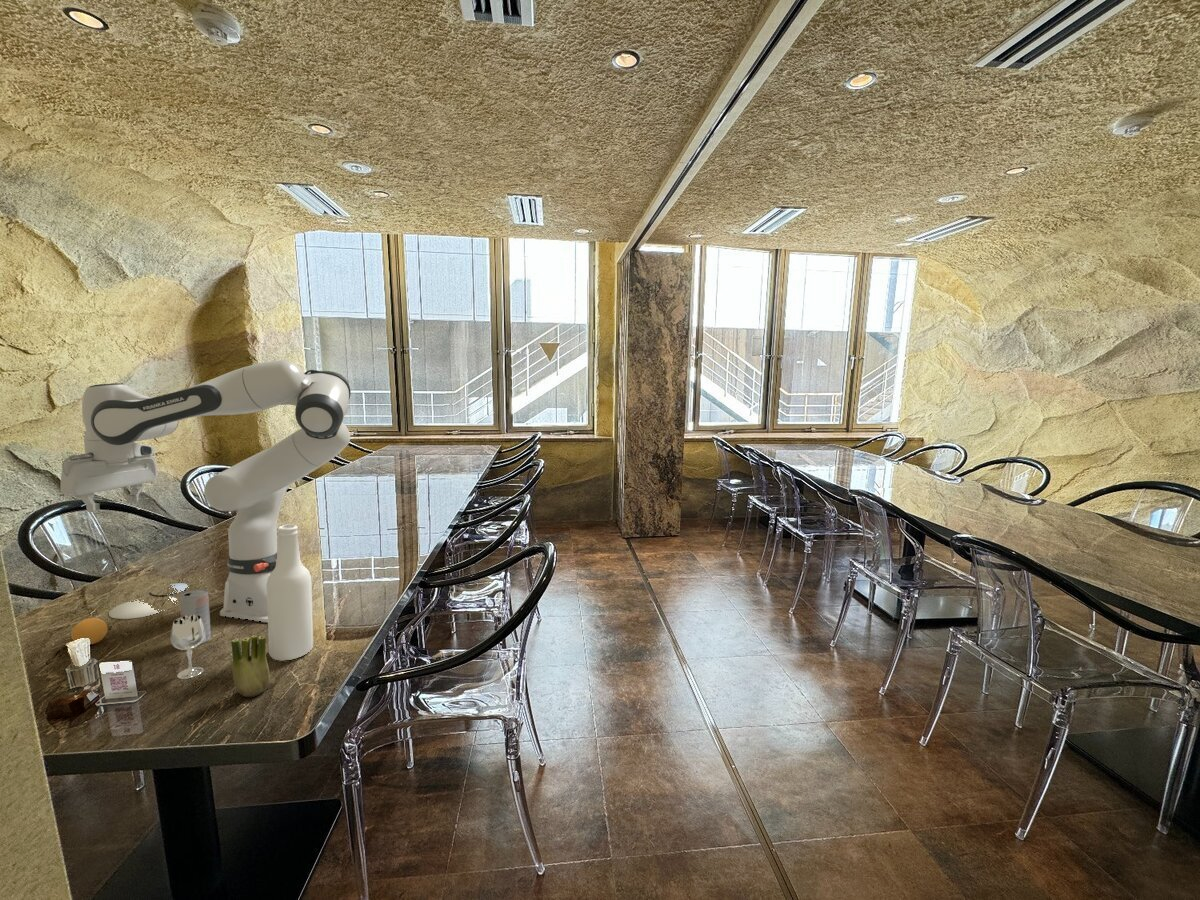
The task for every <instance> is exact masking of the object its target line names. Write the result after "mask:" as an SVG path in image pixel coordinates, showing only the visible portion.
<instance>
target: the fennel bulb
mask: <svg viewBox="0 0 1200 900" xmlns="http://www.w3.org/2000/svg"><path fill="white" fill-rule="evenodd" d="M266 642H267V637H266V636H264V635H260V636H258V635H255V634H253V635H252V634H251V641H250V637H249V636H248V637H244V638H242V639H241V644H240V639H239V638H234V639H232V640H231V643H230V644H231V650H232V666H231V667H232V670H231V673H232V674H231V675H232V679H233V684H234V686H235V688H236V690H237V692H238V693H239V694H240V695H241V696H243V697H244V698H252V697H256V696H259V695H260V694H262V692H264V691H265V690H267V688H268V686H269V685H270V682H271V681H270V680H271V678H270V677H271V676H270V674H271V673H270V668H269V664H268V660H267V656H266V655H267V654H266V652H267V651H266V646H267V645H266V644H267V643H266ZM250 643H251V644H250ZM250 646H251V647H250ZM250 649H251V651H250Z"/></svg>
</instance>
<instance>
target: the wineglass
mask: <svg viewBox="0 0 1200 900" xmlns="http://www.w3.org/2000/svg"><path fill="white" fill-rule="evenodd" d="M204 638H205V626H204V623H203V620H202V618H201V616H200V615H187V616H183V617H181V616H180V617H177V618H176V619H174V620H173V622H172V625H171V630H170V642H171V645H172V646H173V648H175V649H177V650H181V651H185V650H186V652H185V653H186V657H187V659H188V668H186V669H183V670H181V671H180V672H179V673H178V674H177V675H176V677H177V678H178V679H181V680H186V679H192V678H195V677H197V676H199V675H201V674H202V673H203V672H204V670H205V669H204V668H203V667H200V666H193V665H192V655H193V650H192V649H194V648H196V647H198V646H200V645H202V644H201V643H202V641H203V640H204ZM199 644H200V645H199Z"/></svg>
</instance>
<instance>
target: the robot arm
mask: <svg viewBox="0 0 1200 900" xmlns="http://www.w3.org/2000/svg"><path fill="white" fill-rule="evenodd" d="M351 394H352V393H351V387H350V384H349V381H348V380H347V379H346V378H345V377H344V376H343V375H342V374H340V373H338V372H335V371H330V370H316V369H309V370H307V371H305V372H303V370H302V369H301V367H299V365H298V364H297V363H295V362H293V361H290V360H286V359H283V360H281V359H280V360H273V361H264V362H259V363H255V364H251V365H247V366H244V367H240V368H237V369H235V370H231V371H229V372H226V373H224V374H221V375H219V376H217V377H214V378H211V379H209V380H206V381H204V382H202V383H201V382H200V383H198V384H196V385H194V386H191V387H188V388H185V389H180V390H177V391H174V392H169V393H166V394H162V395H158V396H154V397H151V396H149V395H145V394H142V393H140V392H138V391H136V390H135V389H133V388H132V387H130V385H127V384H125V383H122V382H121V383H117V382H115V383H114V382H112V383H99V384H94V385H93V384H92V385H90V386H88V387H86V388H85V390H84V392H83V396H82V403H81V411H82V412H81V413H82V422H83V424H84V426H85V433H84V436H83V440H84V441H83V444H84V445H83V446H84V453H81V454H70V455H68V457H67V458H65V459H64V460H63V461H62V462H61V473H60V474H61V475H60V493H62V494H63V495H64V496H69V497H79V499H80V500H81V501H82V502H83V503H84V504H85V506H86V507H85V508H86V511H87V512H89V513H93V512H98V511H100V508H101V507H100V506H101V505H100V503H99V502H98V503H97V502H95V501H94V498H95V493H100V492H101V493H102V492H106V491H111V490H116V489H121V488H128V487H129V489H131V490H130V494H129V495H126V503H127V504H128V503H129V504H135V503H138V502H139V499H140V498H139V496H140V494H141V492H142V490H143V488H144V487H143V486H144V485H143V484H149V483H154V482H155V481H156V479H157V478H158V466H157V465H158V464H157V460H156V457H155V456H154V455H155V453H156V447H154V446H153V445H149V444H148V445H147V444H143V443H139V442H140V441H146V440H152V439H158V438H162V437H165V436H169V435H171V434H172V433H174V432H175V431H176V429H177V428H178V425H179V422H180V421H182V420H185V419H190V418H197V417H204V416H230V415H231V416H232V415H234V416H235V415H245V414H252V413H253V414H254V413H258V412H262V411H265V410H269V409H273V408H274V407H275V408H276V407H277V406H283V405H290V406H295V409H294V413H295V420H296V423H297V424H298V426H299V427H300V428H299V429H297V430H296V431H294V432H293V433H291V434H290V435H288V436H285V438H283V439H281V440H279V441H278V442H277V443H275V444H273V445H272V446H269V447H268V448H266V449H264V450H262V451H261V450H260V451H259V452H256V453H255V454H254V455H251V456H250V457H247V458H246V459H243V460H241V461H239V462H238V463H236V464H234V465H232V466H231V467H228V468H226V469H225V470H222V471H220V472H219V473H217V474H215V475H213V476H212V477H210V478H209V479H208V480H207V481H206V483H205V485H204V489H203V490H204V491H203V492H204V498H205V500H206V502H207V504H209V506H211V508H213V509H215V510H217V511H221V512H234V511H237V512H236V515H235V517H234V519H233V520H232V522H231V523H230V525H229V527H228V529H227V530H228V531H227V534H228V535H227V537H228V551H229V552H228V555H227V561H226V565H227V570H228V572H229V573H228V576H227V579H226V581H225V583H224V591H223V592H224V593H223V594H224V595H223V596H224V597H223V608H221V610H220V611H219V616H220V617H225V616H226V617H227V618H232V617H234V618H233V619H238V618H240V620H245V619H248V620H247V621H252V620H254V621H253V622H259V621H261V623H268V612H267V587H266V584H267V580H268V576H269V575H270V573H271V572H272V571H273V570H274V569H275V567H276V564H277V546H278V535H277V533H278V530H277V528H278V520H279V514H280V510H281V506H282V503H283V500H284V496H285V495H286V492H287V490H288V489H289V488H290V486H291V485H292V484H293V483H296V482H298V481H300V480H301V479H303V478H305V477H306V476H307V475H309V474H312V473H313V472H314V471H316V470H317V469H319V468H321V467H322V466H324V465H325V464H327V463H328V462H330V461H331V460H333V459H334V458H335V457H336V456H338V455H339V454H340V453H341V452H343V450H344V449H345V448H346V447H348V446H349V443H350V442H351V441H350V440H351V433H350V430H349V429H348V427H347V425H346V424H345V423H344V422H343V420H344V418H345V416H346V413H347V410H348V408H349V401H350V398H351ZM137 442H138V443H137Z"/></svg>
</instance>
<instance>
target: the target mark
mask: <svg viewBox="0 0 1200 900" xmlns="http://www.w3.org/2000/svg"><path fill="white" fill-rule="evenodd" d="M168 596H169V598H170V599H171V601H172V602H173V600H174V601H176V600H178V598H176V597H174V596H171V595H168ZM171 597H172V598H171ZM138 599H139V598H137V599H133V600H134V602H131V601H132V600H130V602H129V601H126V602H123V603H121V604H119V605H116V606H114V607H113V608H112V609H110V610H109V612H108V616H109V617H110V618H112V619H115V620H132V619H140V618H146V616H147V617H149V616H150V615H151V616H154V615H153V614H155V615H157V614H156V613H158V614H160V613H159V612H160V611H159V612H158V611H157V610H154V608H151V606H152V605H151V606H150V605H148V603H144V602H140V601H139V600H138ZM135 600H137V601H135ZM168 600H169V599H168ZM143 601H144V600H143ZM139 602H140V603H139ZM177 602H178V601H177ZM143 603H144V604H143ZM173 603H174V602H173ZM175 604H176V603H175ZM176 605H177V604H176ZM158 610H159V609H158ZM161 611H162V610H161ZM164 612H166V611H165V610H164ZM151 616H150V617H151Z"/></svg>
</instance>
